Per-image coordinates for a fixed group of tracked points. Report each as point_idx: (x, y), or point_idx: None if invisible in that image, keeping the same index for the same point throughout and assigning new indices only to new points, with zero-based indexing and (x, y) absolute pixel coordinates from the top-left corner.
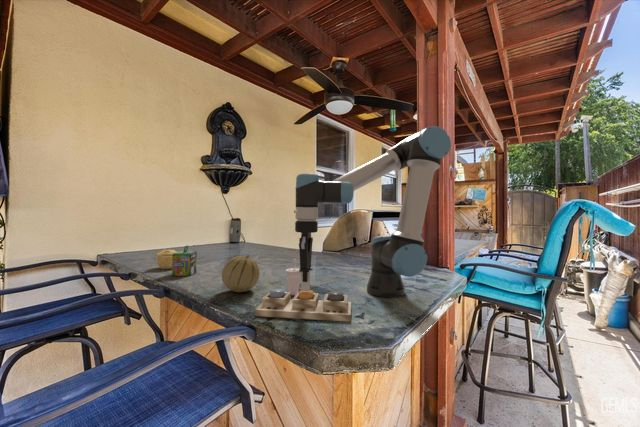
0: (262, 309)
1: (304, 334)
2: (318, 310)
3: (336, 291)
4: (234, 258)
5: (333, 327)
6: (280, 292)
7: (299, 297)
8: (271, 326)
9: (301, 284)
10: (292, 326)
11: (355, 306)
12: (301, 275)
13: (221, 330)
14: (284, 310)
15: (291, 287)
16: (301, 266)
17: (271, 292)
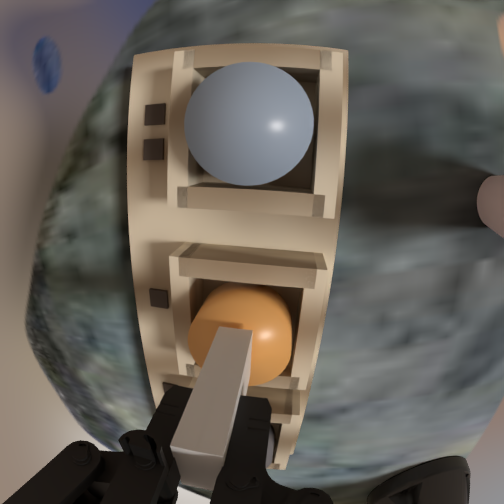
0: (137, 89)
1: (55, 295)
2: (171, 360)
3: (268, 461)
4: None
5: (117, 374)
6: (202, 162)
7: (211, 297)
8: (69, 176)
9: (206, 358)
10: (83, 254)
11: (304, 447)
12: (183, 414)
13: (46, 36)
14: (137, 208)
15: (501, 199)
16: (49, 475)
17: (194, 91)
